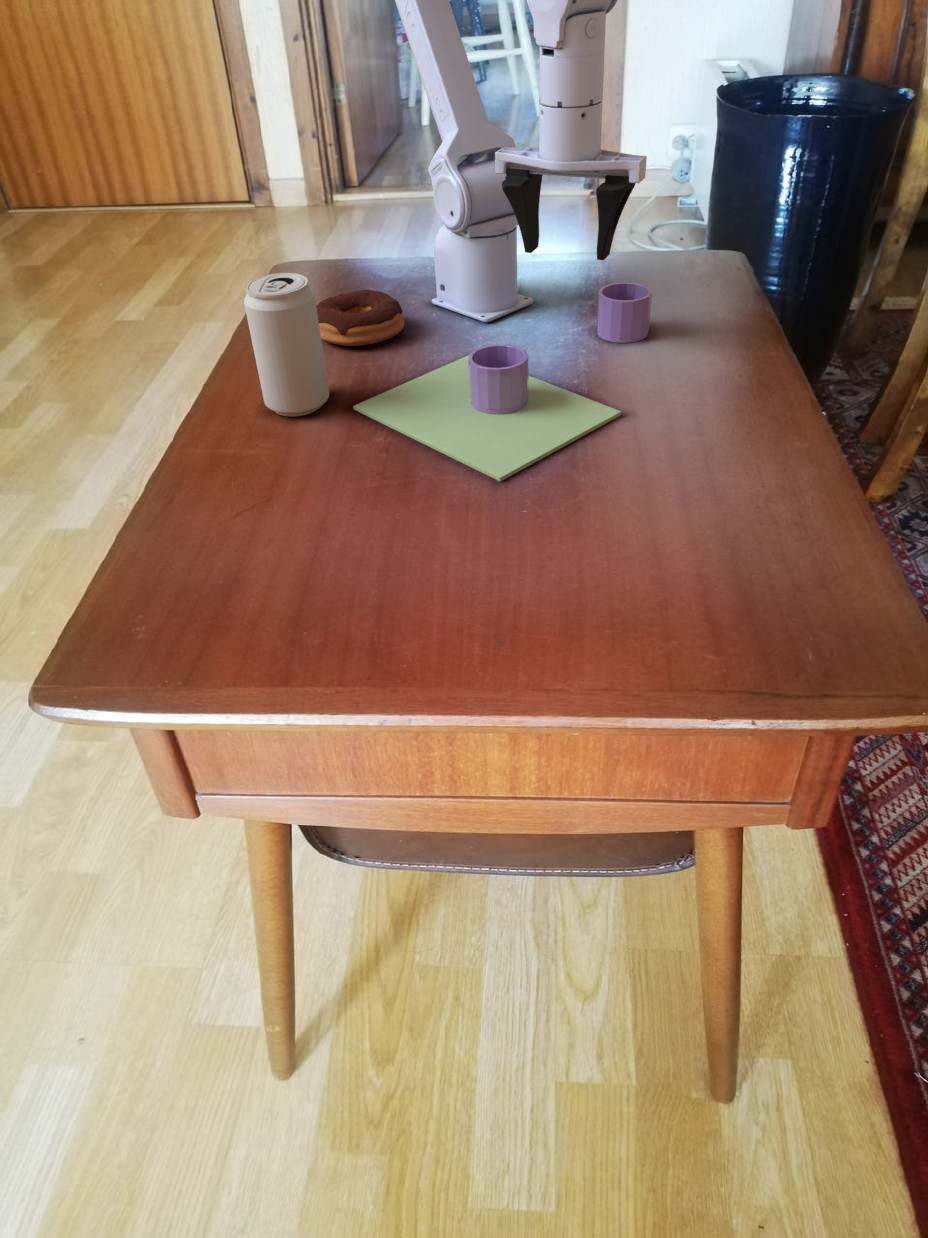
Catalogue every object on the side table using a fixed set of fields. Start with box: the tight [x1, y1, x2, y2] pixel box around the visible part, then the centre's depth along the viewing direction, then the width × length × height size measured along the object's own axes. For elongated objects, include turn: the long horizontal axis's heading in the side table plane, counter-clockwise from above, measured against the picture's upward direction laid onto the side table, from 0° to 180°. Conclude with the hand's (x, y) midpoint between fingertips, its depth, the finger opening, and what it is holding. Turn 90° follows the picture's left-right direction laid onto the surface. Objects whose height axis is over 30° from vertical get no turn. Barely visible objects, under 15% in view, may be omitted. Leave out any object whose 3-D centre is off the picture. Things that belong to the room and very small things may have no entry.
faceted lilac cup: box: [596, 282, 653, 344], centre depth 99 cm, size 6×6×4 cm
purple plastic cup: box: [468, 343, 529, 414], centre depth 87 cm, size 6×6×4 cm
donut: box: [316, 289, 405, 347], centre depth 102 cm, size 10×10×4 cm
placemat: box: [352, 354, 622, 483], centre depth 88 cm, size 20×16×1 cm
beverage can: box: [243, 272, 330, 417], centre depth 87 cm, size 6×6×12 cm
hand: (567, 253), depth 93 cm, fingers open, 7 cm apart
